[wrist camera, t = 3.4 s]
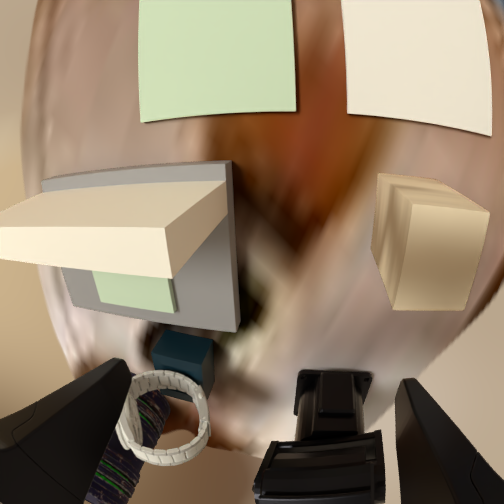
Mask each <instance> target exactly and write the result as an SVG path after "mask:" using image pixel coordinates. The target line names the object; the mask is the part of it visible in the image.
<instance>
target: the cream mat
mask: <svg viewBox="0 0 504 504" xmlns="http://www.w3.org/2000/svg"><path fill="white" fill-rule="evenodd" d="M341 7H342V17H343V28H344V42H345V58H346V81H347V114H360V115H371V116H381V117H390V118H398V119H405V120H412V121H419V122H425V123H431V124H437V125H442V126H448V127H453V128H458V129H462V130H467V131H471V132H476V133H480V134H484V135H488V136H492V89H491V72H490V61H489V52H488V44H487V37H486V30H485V25H484V19H483V14H482V9H481V4H480V1H479V0H341Z"/></svg>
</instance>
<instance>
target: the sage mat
mask: <svg viewBox="0 0 504 504" xmlns="http://www.w3.org/2000/svg"><path fill="white" fill-rule="evenodd" d="M138 71H139V101H140V119H141V123H142V122H150V121H156V120H164V119H171V118H180V117H189V116H199V115H210V114H224V113H241V112H275V111H296V85H295V58H294V37H293V20H292V5H291V0H140V3H139V31H138Z"/></svg>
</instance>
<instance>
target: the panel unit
mask: <svg viewBox="0 0 504 504" xmlns="http://www.w3.org/2000/svg"><path fill="white" fill-rule="evenodd" d="M41 183H42V189H43V193H41V194H38V195H36V196H34V197H31V198H29V199H27V200H25V201H22V202H20V203H18V204H16V205H14V206H12V207H9V208H7V209H5V210H3V211H1V212H0V259H7V260H14V261H21V262H28V263H35V264H43V265H51V266H58V267H61V269H62V273H63V276H64V279H65V282H66V285H67V289H68V292H69V294H70V297H71V300H72V303H73V306H76V307H80V308H85V309H90V310H94V311H99V312H104V313H109V314H115V315H120V316H125V317H131V318H137V319H142V320H148V321H154V322H161V323H167V324H174V325H181V326H188V327H195V328H203V329H211V330H219V331H228V332H237V329H238V326H239V323H240V321H241V319H240V303H239V288H238V271H237V254H236V237H235V219H234V199H233V179H232V160H229V161H200V162H181V163H166V164H152V165H141V166H130V167H120V168H111V169H103V170H95V171H87V172H80V173H73V174H66V175H60V176H54V177H51V178H48V179H45V180H42V181H41Z"/></svg>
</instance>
